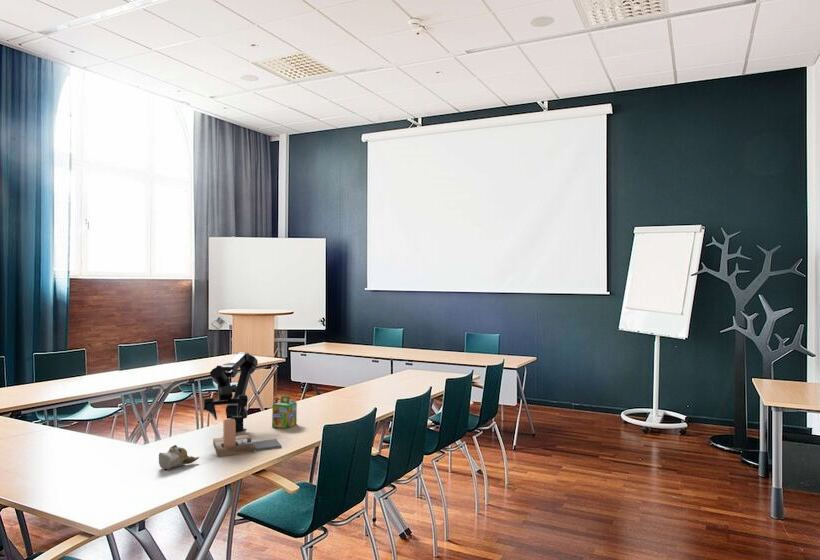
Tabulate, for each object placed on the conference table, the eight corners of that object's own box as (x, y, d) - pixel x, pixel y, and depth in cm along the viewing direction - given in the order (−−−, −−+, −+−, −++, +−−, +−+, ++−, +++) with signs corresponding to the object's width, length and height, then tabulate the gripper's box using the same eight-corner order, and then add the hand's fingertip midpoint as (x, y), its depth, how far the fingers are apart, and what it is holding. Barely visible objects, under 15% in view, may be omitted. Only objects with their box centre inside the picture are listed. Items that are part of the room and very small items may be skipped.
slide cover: (236, 441, 252) (236, 437, 252) (250, 439, 255) (250, 436, 255) (238, 445, 246) (238, 442, 246) (253, 444, 248) (253, 440, 248)
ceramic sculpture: (150, 446, 224) (183, 439, 237) (149, 469, 223) (182, 460, 236) (168, 450, 219) (200, 443, 232) (167, 474, 218) (199, 465, 231)
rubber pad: (251, 444, 257) (251, 442, 257) (276, 441, 261) (276, 439, 261) (255, 450, 247) (255, 448, 247) (281, 447, 251) (281, 445, 251)
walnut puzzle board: (213, 444, 257) (213, 438, 257) (247, 440, 263) (247, 434, 263) (217, 456, 239) (217, 450, 239) (254, 452, 245) (254, 446, 245)
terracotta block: (223, 449, 249) (223, 419, 249) (234, 448, 251) (234, 418, 251) (224, 452, 245) (224, 422, 245) (235, 451, 247) (235, 420, 246)
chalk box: (271, 427, 285) (271, 397, 285) (281, 423, 294) (280, 394, 294) (288, 429, 283) (288, 398, 283) (297, 424, 291) (297, 395, 291)
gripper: (203, 380, 255) (205, 410, 245) (247, 377, 262) (250, 406, 252) (202, 394, 262) (204, 424, 252) (244, 391, 270) (248, 420, 259)
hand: (227, 418), depth 254 cm, fingers open, 9 cm apart
